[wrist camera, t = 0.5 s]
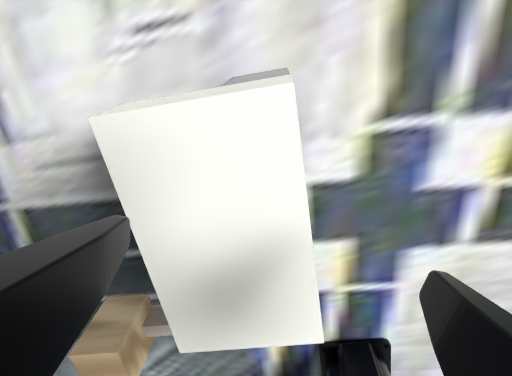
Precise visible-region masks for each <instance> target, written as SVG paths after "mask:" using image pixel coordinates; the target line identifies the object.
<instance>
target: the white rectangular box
mask: <svg viewBox="0 0 512 376" xmlns="http://www.w3.org/2000/svg"><path fill="white" fill-rule="evenodd" d="M88 120H89V122H90V125H91V128H92V130H93V133H94V135H95V138H96V140H97V143H98V145H99V148H100V150H101V153H102V156H103V158H104V161H105V163H106V166H107V168H108V171H109V173H110V176H111V179H112V181H113V184H114V186H115V189H116V191H117V194H118V196H119V199H120V201H121V204H122V207H123V209H124V212H125V214H126V217H128V218H129V220H130V227H131V230H132V232H133V235H134V237H135V240H136V242H137V245H138V247H139V250H140V252H141V255H142V258H143V260H144V263H145V265H146V268H147V270H148V273H149V275H150V278H151V280H152V283H153V286H154V288H155V291H156V293H157V296H158V298H159V301H160V303H161V306H162V309H163V311H164V314H165V316H166V319H167V321H168V324H169V326H170V329H171V331H172V334H173V337H174V339H175V342H176V344H177V347H178V349H179V352H180V353H189V352H203V351H217V350H231V349H246V348H260V347H274V346H289V345H303V344H317V343H324V337H323V328H322V320H321V311H320V302H319V294H318V285H317V277H316V268H315V260H314V251H313V243H312V234H311V225H310V217H309V208H308V200H307V191H306V183H305V174H304V166H303V157H302V148H301V140H300V131H299V123H298V114H297V106H296V97H295V89H294V82H293V79H292V77H291V75H290V73H289V71H288V69H287V68H283V69H277V70H272V71H266V72H261V73H255V74H249V75H244V76H238V77H233V78H232V79H231V80H229V81H228V82H227V83H226V84H224V85H223V86H220V87H215V88H209V89H203V90H198V91H192V92H186V93H181V94H175V95H169V96H164V97H158V98H152V99H146V100H141V101H135V102H129V103H124V104H121V105H118V106H116V107H113V108H111V109H108V110H106V111H103V112H101V113H98V114H96V115H93V116H91V117H88Z"/></svg>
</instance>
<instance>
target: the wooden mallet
mask: <svg viewBox="0 0 512 376" xmlns="http://www.w3.org/2000/svg"><path fill="white" fill-rule="evenodd" d="M166 335H173V334H172V331H171V329H170V326H169V324H168V321H167V319H166V316H165V314H164V311H163V309H162V306H161V304H158V305H152V304H151V301H150V299H149V296H148V294H138V295H127V296H117V297H107V298H106V299H105V301H104V302H103V304H102V305H101V307H100V308H99V310H98V311H97V313H96V314H95V316H94V317H93V319H92V320H91V322H90V323H89V325H88V326H87V328H86V329H85V331H84V332H83V334H82V335H81V337H80V338H79V340H78V341H77V343H76V344H75V346H74V347H73V349H72V350H71V352H70V353H69V355H68V357H69V359H70V360H71V362H72V364H73V365H74V367H75V369H76V370H77V372H78V374H79V375H80V376H140V373H141V371H142V369H143V366H144V364H145V361H146V359H147V356H148V354H149V351H150V349H151V347H152V344H153V342H154V339H155V337H156V336H166Z"/></svg>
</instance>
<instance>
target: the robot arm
mask: <svg viewBox="0 0 512 376" xmlns="http://www.w3.org/2000/svg"><path fill="white" fill-rule="evenodd" d="M129 244H130V220H129V218H128V217H125V216H119V215H113V216H110V217H107V218H104V219H101V220H98V221H96V222H93V223H90V224H87V225H84V226H81V227H79V228H76V229H73V230H70V231H67V232H64V233H62V234H59V235H56V236H53V237H50V238H47V239H45V240H42V241H39V242H36V243H33V244H30V245H27V246H25V247H22V248H19V249H16V250H13V251H10V252H8V253H5V254H2V255H0V376H53V375H54V373H55V372H56V370H57V369H58V367H59V365H60V364H61V362H62V361H63V359H64V358H65V356H66V355H67V353H68V351H69V350H70V348H71V347H72V345H73V344H74V342H75V341H76V339H77V338H78V336H79V334H80V333H81V331H82V330H83V328H84V327H85V325H86V324H87V322H88V320H89V319H90V317H91V316H92V314H93V313H94V311H95V310H96V308H97V307H98V305H99V303H100V302H101V300H102V299H103V297H104V295H105V294H106V292H107V290H108V288H109V286H110V285H111V283H112V280H113V278H114V276H115V274H116V272H117V270H118V268H119V266H120V264H121V262H122V260H123V258H124V256H125V254H126V252H127V250H128V248H129ZM419 297H420V303H421V306H422V310H423V313H424V317H425V321H426V324H427V328H428V331H429V335H430V339H431V342H432V345H433V348H434V351H435V354H436V357H437V359H438V362H439V365H440V367H441V370H442V372H443V375H444V376H512V314H510V313H509V312H507V311H506V310H504V309H502V308H501V307H499V306H498V305H496V304H495V303H493V302H492V301H490V300H489V299H487V298H485V297H484V296H482V295H481V294H479V293H478V292H476V291H475V290H473V289H472V288H470V287H468V286H467V285H465V284H464V283H462V282H461V281H459V280H458V279H456V278H455V277H453V276H451V275H450V274H448V273H446V272H441V271H435V270H433V271H431V272H430V273H429V274H428V276H427V278H426V280H425V282H424V284H423V286H422V288H421V291H420V295H419ZM319 352H320V360H321V368H322V376H391V345H390V342H389V340H387V339H375V340H361V341H347V342H332V343H322V344H320V345H319Z"/></svg>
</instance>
